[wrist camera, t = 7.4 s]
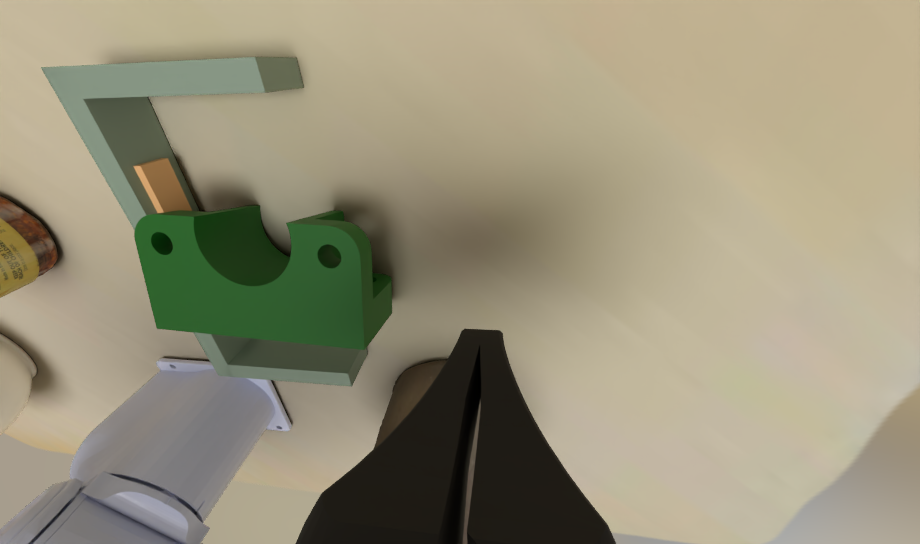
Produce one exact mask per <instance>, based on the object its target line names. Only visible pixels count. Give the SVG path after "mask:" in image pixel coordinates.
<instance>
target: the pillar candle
mask: <svg viewBox="0 0 920 544" xmlns="http://www.w3.org/2000/svg"><path fill="white" fill-rule="evenodd" d="M446 361H447V360H445V361H444V360H440V361H432V362H428V363H424V364H420V365H417V366H414V367H412V368H410V369H408V370H406V371H404V372H403V373H402V375H400V376H399V378H398V379H397V380H396V382H395V384H396V385H394V387H393V394H392V397H391V400H390V402H389V405H388V408H387V411H386V414H385V417H384V419H383V421H382V425H381V427H380V431H379V434H378V437H377V441H376V444H375V447H374V449H375V448H376V447H377V446H378V445H379V444H380V443H381V442H382V441H383V440H384V439H385V438H386V437H387V436H388V435H389V434H390V433H391V432H392V431H393V430H394V429H395V428H396V427H397V426H398V425H399V424H400V423H401V421H402V420H403V419H404V418H405V417H406V416H407V415H408V414H409V412H410V411H411V410H412V409H413V408H414V407H415V405H416V404H417V403H418V402H419V400H420V399H421V398H422V396H423V395H424V394H425V393H426V391H427V390H428V388H429V387H430V386H431V384H432V383H433V381H434V380H435V378H436V377H437V376H438V374H439V373H440V371H441V369H442V368H443V366H444V364H445V363H446ZM480 409H481V402H480V404H479V410H478V416H477V422H476V428H475V434H474V440H473V446H472V452H471V458H470V465H469V472H468V483H467V495H466V507H465V520H464V533H463V544H467V526H468V518H469V510H470V502H471V493H472V485H473V476H474V467H475V458H476V449H477V439H478V430H479V419H480ZM374 449H373V450H374Z"/></svg>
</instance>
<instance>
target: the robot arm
mask: <svg viewBox="0 0 920 544" xmlns="http://www.w3.org/2000/svg"><path fill="white" fill-rule="evenodd" d="M156 364H157V366H158V368H159V369H160V371H159V372H158V373H157V374H156V375H155V376H154V377H152V378H151V379H150V380H149V381H148V382H147V383H146V384H145V385H143V386H142V387H141V388H140V389H139V390H138V391H137V392H135V393H134V394H133V395H132V396H131V397H130V398H129V399H128V400H126V401H125V402H124V403H123V404H122V405H121V406H120V407H118V408H117V409H116V410H115V411H114V412H113V413H112V414H111V415H109V416H108V417H107V418H106V419H105V420H104V421H103V422H102V423H100V424H99V425H98V426H97V427H96V428H95V429H94V430H93V431H92V432H91V433H90V434H89V435H88V436H87V437H86V439H85V440H84V441H83V442H82V444H81V445H80V447H79V449H78V450H77V452H76V454H75V456H74V459H73V461H72V464H71V468H70V480H68V481H67V482H61V483H57V484H54V485H52V486H50V487H49V488H48V489H46V490H45V491H44V492H42V493H41V494H40V495H39V496H38V497H36V498H35V499H34V500H33V501H32V502H30V503H29V504H28V505H27V506H26V507H25V508H24V509H22V510H21V511H20V512H19V513H18V514H17V515H16V516H14V517H13V518H12V519H11V520H10V521H9V522H8V523H7V524H5V525H4V526H3V527H2V528H1V529H0V544H203V543H201V542H202V540H203V538H204V537H205V535H206V534H207V532H208V531H209V529H210V528H209V527H208V526H206V525H205V524H203V522H204V521H205V519H206V518H207V516H208V515H209V513H210V512H211V510H212V509H213V507H214V506H215V504H216V503H217V501H218V500H219V498H220V497H221V495H222V494H223V492H224V491H225V489H226V488H227V486H228V485H229V483H230V482H231V480H232V479H233V477H234V476H235V474H236V473H237V471H238V470H239V468H240V467H241V465H242V464H243V462H244V461H245V459H246V458H247V456H248V455H249V453H250V452H251V450H252V449H253V447H254V446H255V444H256V443H257V441H258V440H259V438H260V437H261V435H262V434H263V432H264V431H265V429H268V430H278V431H289V430H290V429H291V427H292V425H291V423H290V420H289V418H288V416H287V414H286V412H285V410H284V408H283V406H282V403H281V401H280V399H279V397H278V395H277V393H276V391H275V388H274V386H273V384H272V382H271V380H264V379H251V378H238V377H225V376H218V374H217V372H216V371H215V369H214V367H213V365H212V364H211V362H208V361H194V360H180V359H167V358H161V359H159V360H158V361H157V362H156ZM480 402H481V409H480V419H479V430H478V439H477V449H476V458H475V467H474V476H473V485H472V493H471V502H470V510H469V518H468V526H467V544H616V542H615V540H614V538H613V536H612V533H611V531H610V529H609V527H608V525H607V523H606V522H605V521H604V520H603V518H602V517H601V516H600V515H599V513H598V512H597V511H596V510H595V508H594V507H593V506H592V505H591V503H590V502H589V501H588V500H587V498H586V497H585V496H584V494H583V493H582V492H581V490H580V489H579V488H578V486H577V485H576V484H575V482H574V481H573V480H572V478H571V477H570V475H569V474H568V473H567V471H566V470H565V468H564V467H563V465H562V464H561V462H560V461H559V459H558V458H557V456H556V455H555V453H554V452H553V450H552V449H551V447H550V446H549V444H548V442H547V441H546V439H545V437H544V436H543V434H542V432H541V431H540V429H539V427H538V425H537V424H536V422H535V420H534V418H533V416H532V414H531V412H530V411H529V409H528V407H527V405H526V402H525V400H524V398H523V396H522V394H521V392H520V389H519V387H518V385H517V382H516V380H515V377H514V375H513V372H512V369H511V367H510V364H509V361H508V357H507V354H506V350H505V346H504V341H503V333H502V332H501V331H498V330H478V329H464V330H463V331H462V332H461V334H460V337H459V339H458V341H457V343H456V345H455V347H454V349H453V351H452V353H451V354H450V356H449V358H448V360H447V361H446V363H445V364H444V366H443V368H442V369H441V371H440V373H439V374H438V376H437V377H436V378H435V380H434V381H433V383H432V384H431V386H430V387H429V388H428V390H427V391H426V393H425V394H424V395H423V396H422V398H421V399H420V400H419V402H418V403H417V404H416V405H415V407H414V408H413V409H412V410H411V411H410V412H409V414H408V415H407V416H406V417H405V418H404V419H403V420H402V421H401V423H400V424H399V425H398V426H397V427H396V428H395V429H394V430H393V431H392V432H391V433H390V434H389V435H388V436H387V437H386V438H385V439H384V440H383V441H382V442H381V443H380V444H379V445H378V446H377V447H376V448H375V449H374V450H373V451H371V452H370V453H369V454H368V455H367V456H366V457H365V458H364V459H363V460H362V461H361V462H359V463H358V464H357V465H356V466H355V467H354V468H352V469H351V470H350V471H349V472H348V473H346V474H345V475H344V476H343V477H341V478H340V479H339V480H338V481H336V482H335V483H334V484H333V485H331V486H330V487H329V488H328V489H326V490H325V491H324V492H323V493H322V494H321V496H320V497H319V499H318V501H317V502H316V504H315V506H314V507H313V509H312V511H311V513H310V515H309V516H308V518H307V520H306V522H305V524H304V526H303V528H302V530H301V533H300V535H299V537H298V540H297V542H296V544H463V533H464V520H465V507H466V495H467V483H468V472H469V465H470V458H471V452H472V446H473V440H474V434H475V428H476V422H477V416H478V410H479V404H480Z"/></svg>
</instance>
